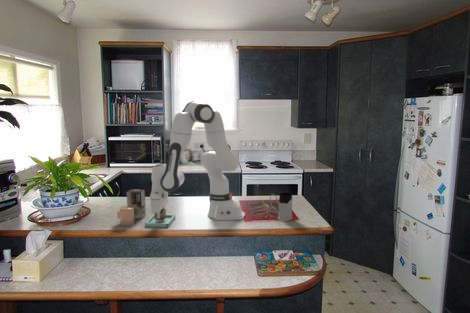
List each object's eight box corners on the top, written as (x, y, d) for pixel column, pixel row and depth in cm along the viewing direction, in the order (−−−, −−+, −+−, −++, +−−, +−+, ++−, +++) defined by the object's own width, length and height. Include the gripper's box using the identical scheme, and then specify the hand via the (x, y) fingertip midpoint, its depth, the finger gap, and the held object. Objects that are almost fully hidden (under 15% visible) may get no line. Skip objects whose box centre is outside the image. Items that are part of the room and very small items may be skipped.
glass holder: (290, 221, 189) (290, 196, 187) (266, 218, 195) (267, 193, 193) (294, 217, 197) (295, 193, 195) (271, 214, 203) (272, 190, 201)
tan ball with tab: (136, 221, 188) (135, 206, 187) (131, 226, 180) (130, 210, 179) (121, 221, 189) (120, 205, 187) (115, 225, 181) (114, 209, 180)
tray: (175, 217, 195) (175, 214, 194) (168, 227, 179) (167, 223, 179) (154, 217, 196) (153, 214, 195) (144, 226, 180) (144, 223, 179)
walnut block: (165, 217, 189) (165, 209, 189) (163, 220, 184) (163, 211, 184) (157, 217, 189) (157, 208, 189) (154, 220, 185) (154, 211, 184)
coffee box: (146, 215, 199) (145, 189, 197) (142, 218, 193) (141, 192, 190) (131, 214, 200) (130, 189, 198) (127, 218, 194) (126, 191, 191)
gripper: (160, 187, 195) (160, 210, 197) (148, 196, 175) (149, 221, 177) (170, 188, 195) (170, 210, 197) (160, 197, 175) (160, 222, 176)
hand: (160, 215), depth 187 cm, fingers closed on walnut block, 5 cm apart
